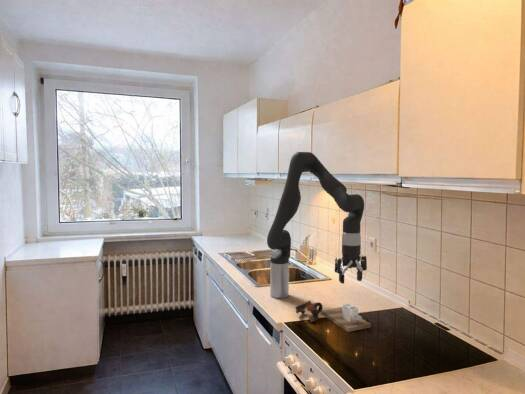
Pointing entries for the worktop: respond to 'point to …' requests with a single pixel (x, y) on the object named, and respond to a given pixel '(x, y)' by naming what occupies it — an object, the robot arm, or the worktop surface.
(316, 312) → the brown irregular piece
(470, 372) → the worktop surface
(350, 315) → the plug
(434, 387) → the worktop surface
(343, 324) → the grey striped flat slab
